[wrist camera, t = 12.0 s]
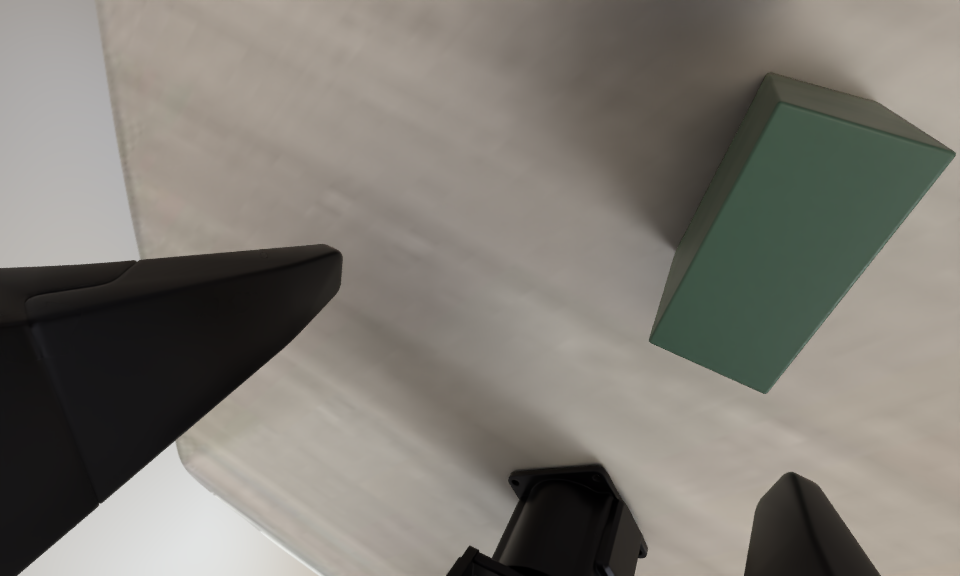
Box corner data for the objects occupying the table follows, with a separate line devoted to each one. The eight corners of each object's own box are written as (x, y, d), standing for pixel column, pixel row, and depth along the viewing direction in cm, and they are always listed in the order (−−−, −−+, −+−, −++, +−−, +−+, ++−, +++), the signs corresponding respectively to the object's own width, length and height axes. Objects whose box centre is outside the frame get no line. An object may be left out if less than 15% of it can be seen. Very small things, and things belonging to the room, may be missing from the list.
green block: (760, 285, 19) (766, 396, 13) (675, 251, 20) (647, 343, 14) (881, 103, 15) (959, 152, 9) (767, 71, 16) (778, 99, 10)
